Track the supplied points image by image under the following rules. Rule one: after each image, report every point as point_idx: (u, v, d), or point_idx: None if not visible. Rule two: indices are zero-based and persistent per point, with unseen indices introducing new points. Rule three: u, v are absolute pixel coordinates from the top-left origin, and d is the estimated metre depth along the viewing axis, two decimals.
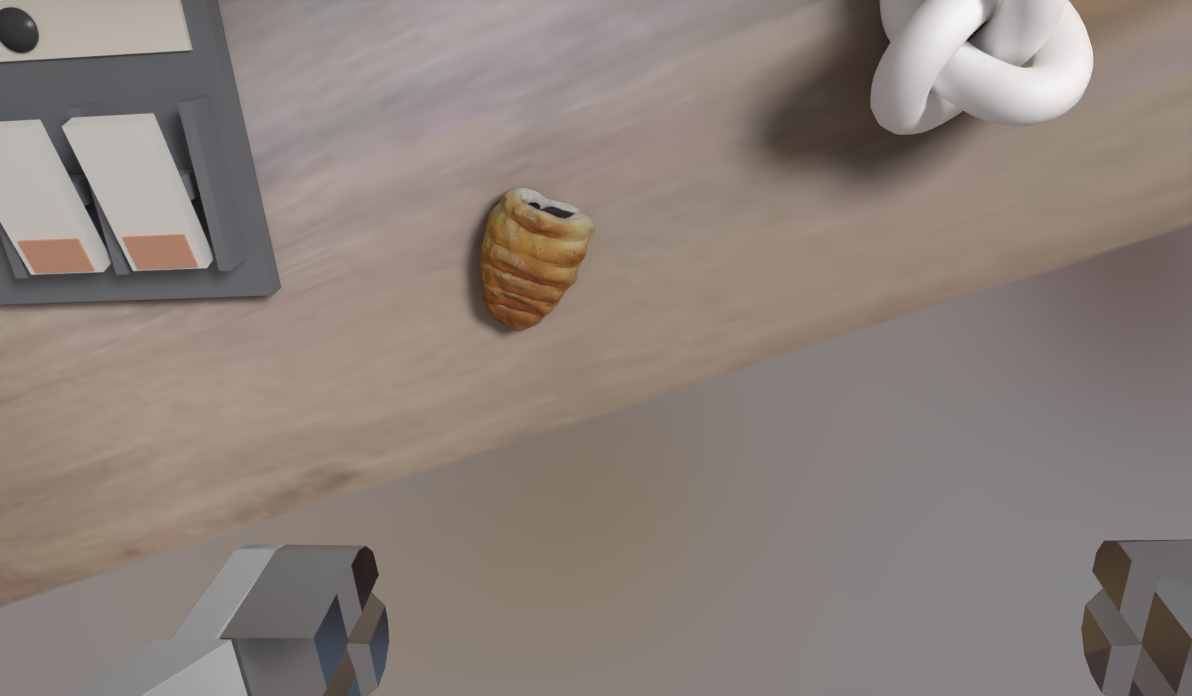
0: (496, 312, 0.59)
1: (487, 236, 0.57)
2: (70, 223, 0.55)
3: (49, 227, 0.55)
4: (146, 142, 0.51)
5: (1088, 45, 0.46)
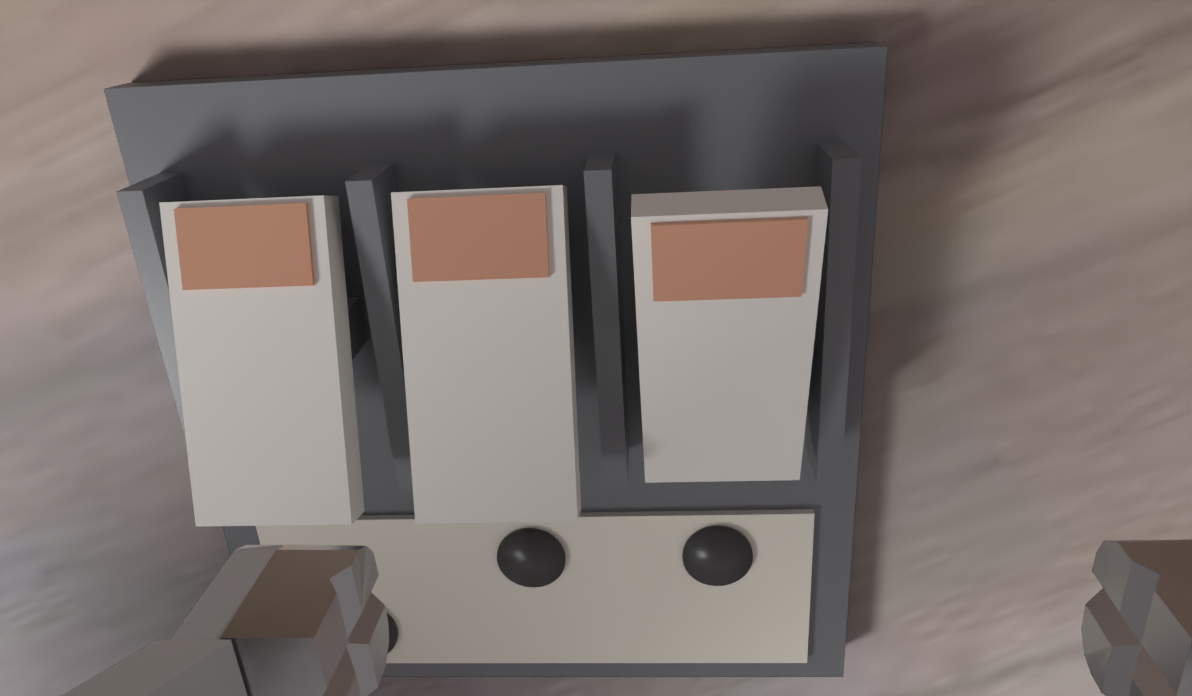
0: None
1: None
2: (416, 318, 0.26)
3: (465, 308, 0.26)
4: (203, 487, 0.27)
5: None
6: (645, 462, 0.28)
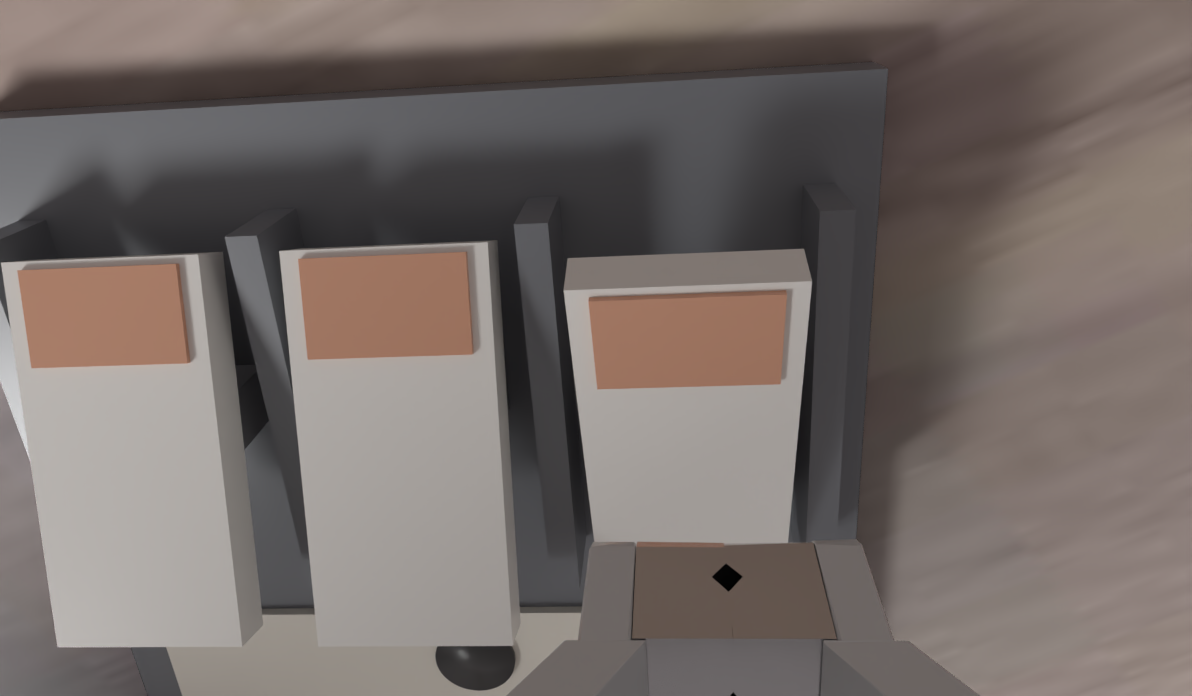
0: None
1: None
2: (314, 402, 0.21)
3: (373, 391, 0.21)
4: (65, 601, 0.23)
5: None
6: None
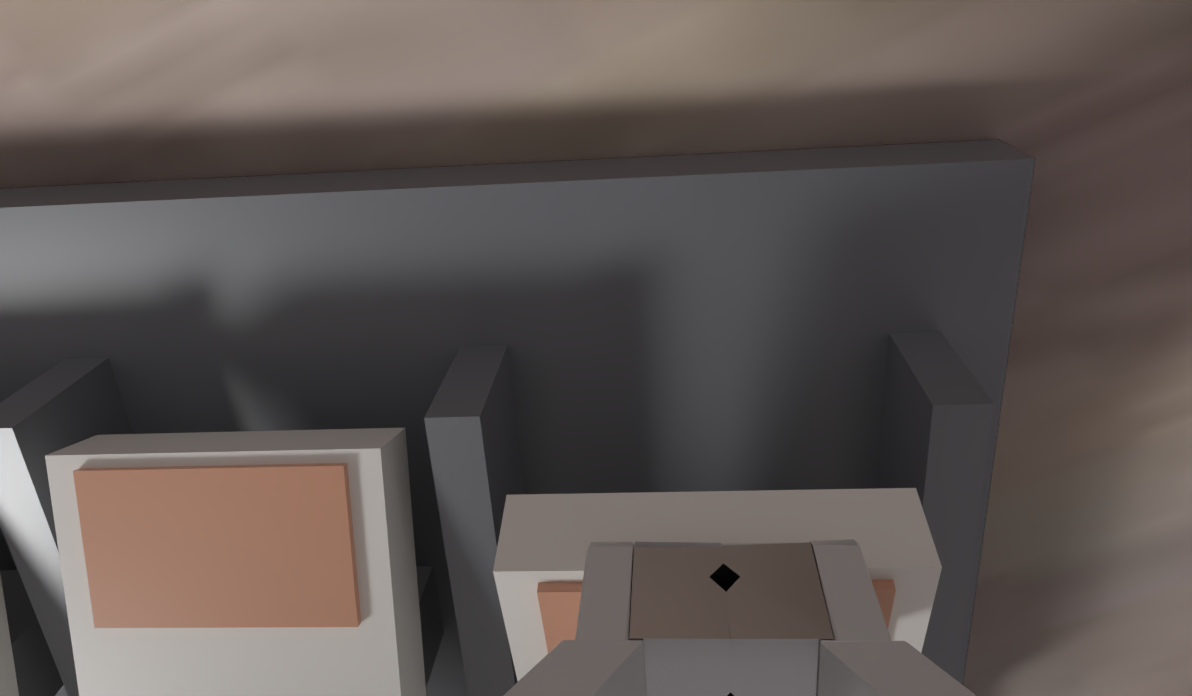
0: None
1: None
2: (109, 690, 0.13)
3: (202, 676, 0.13)
4: None
5: None
6: None
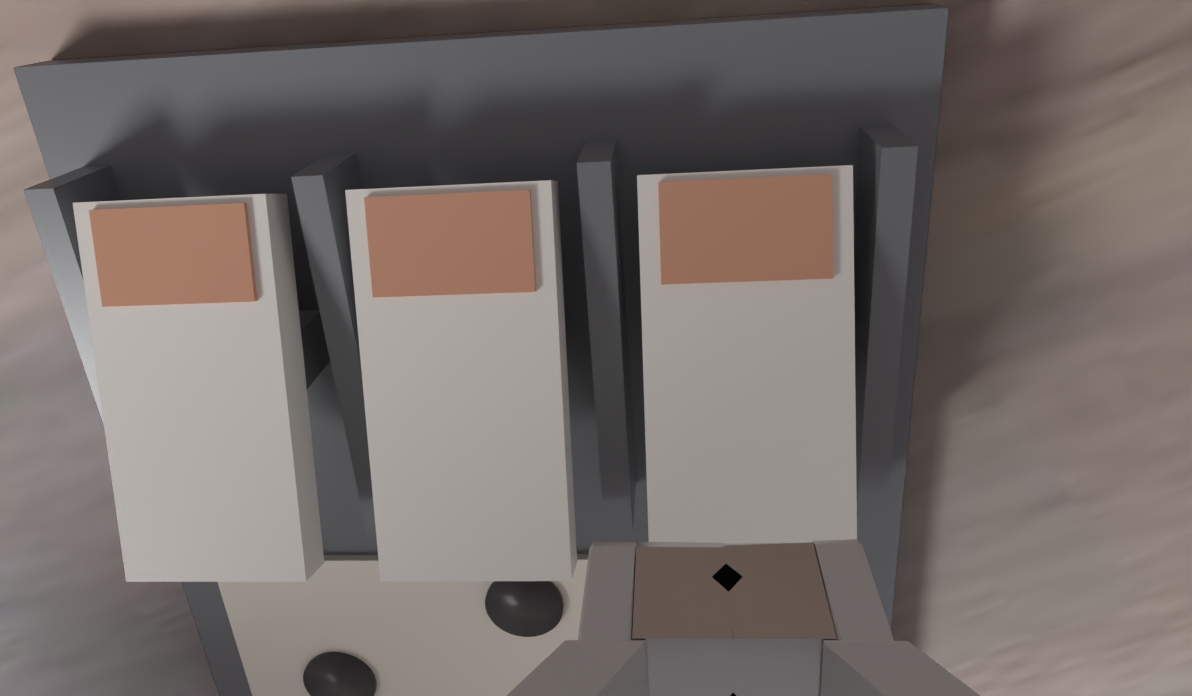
0: None
1: None
2: (378, 340, 0.22)
3: (436, 329, 0.22)
4: (134, 537, 0.23)
5: None
6: None
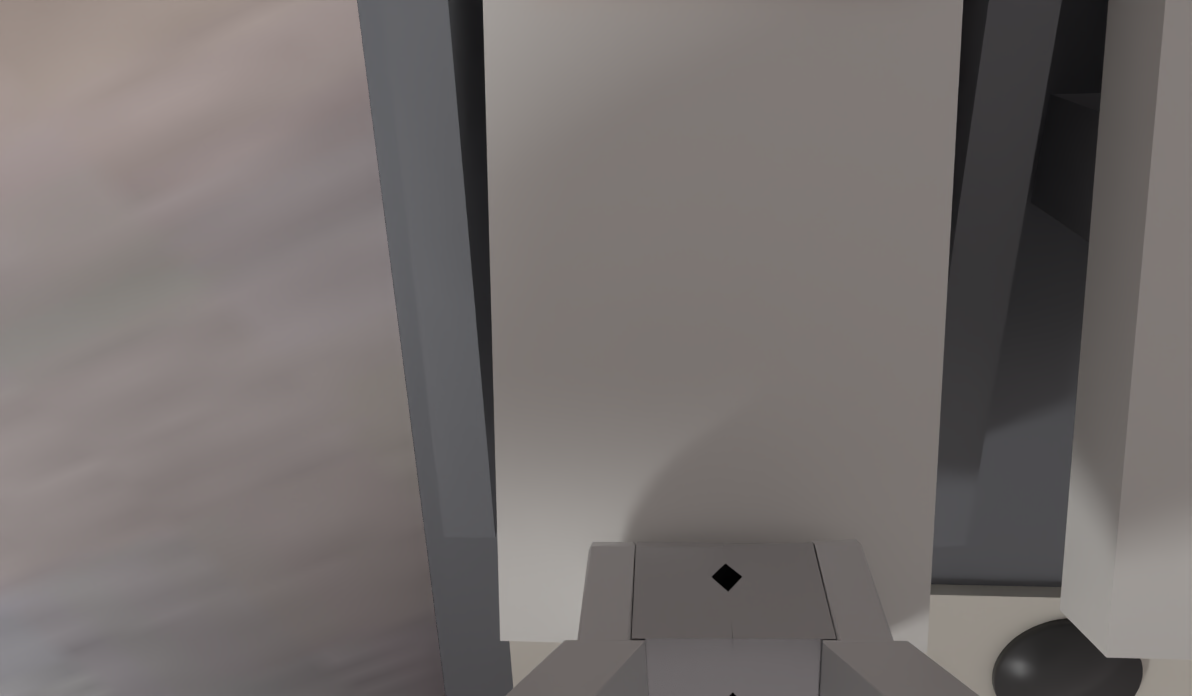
0: None
1: None
2: None
3: None
4: (531, 542, 0.10)
5: None
6: None
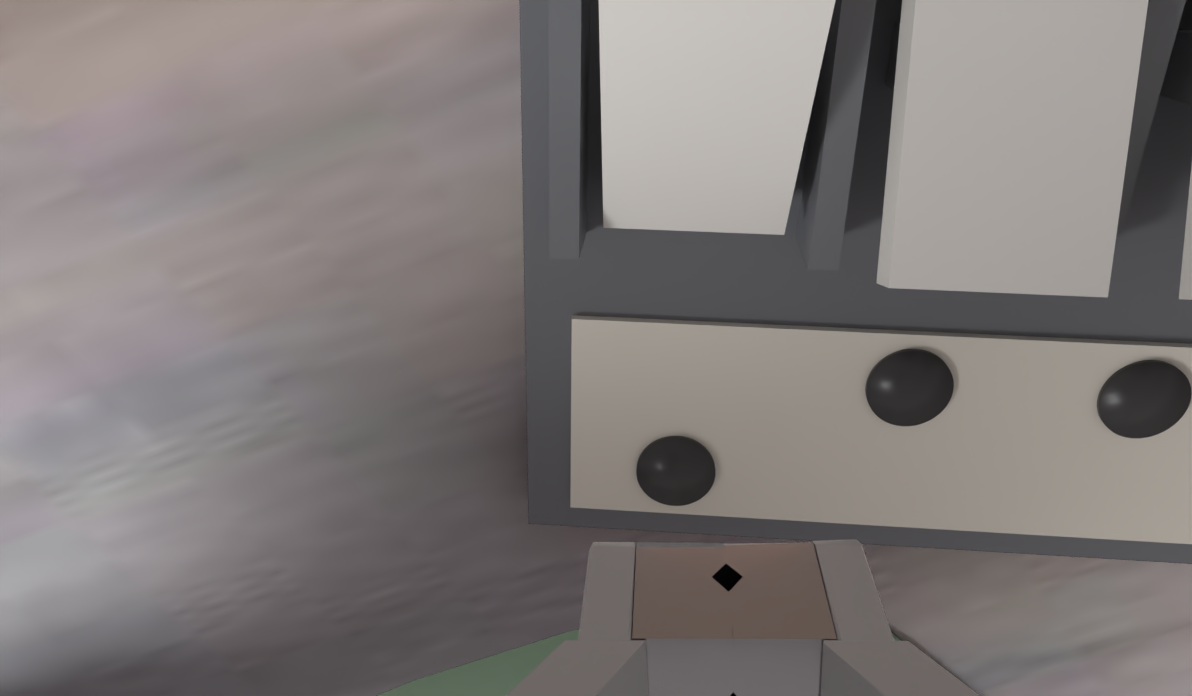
0: None
1: None
2: (938, 6, 0.20)
3: None
4: (618, 195, 0.24)
5: None
6: None
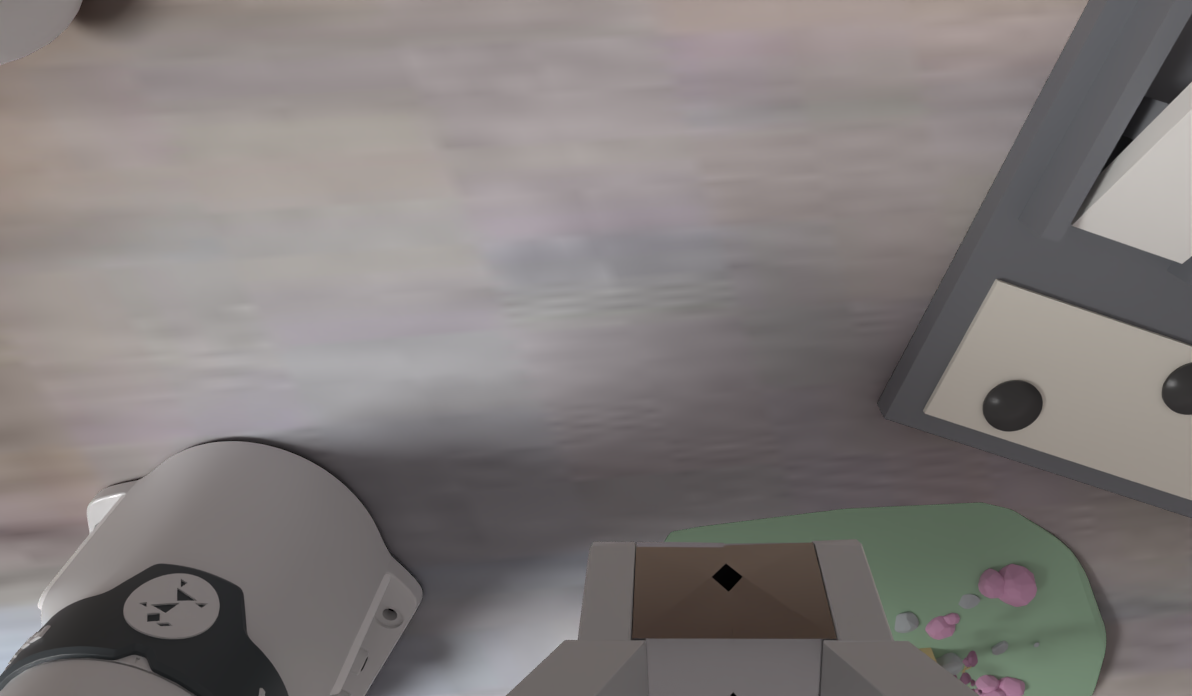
0: None
1: None
2: None
3: None
4: (1101, 208, 0.35)
5: None
6: None
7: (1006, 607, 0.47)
